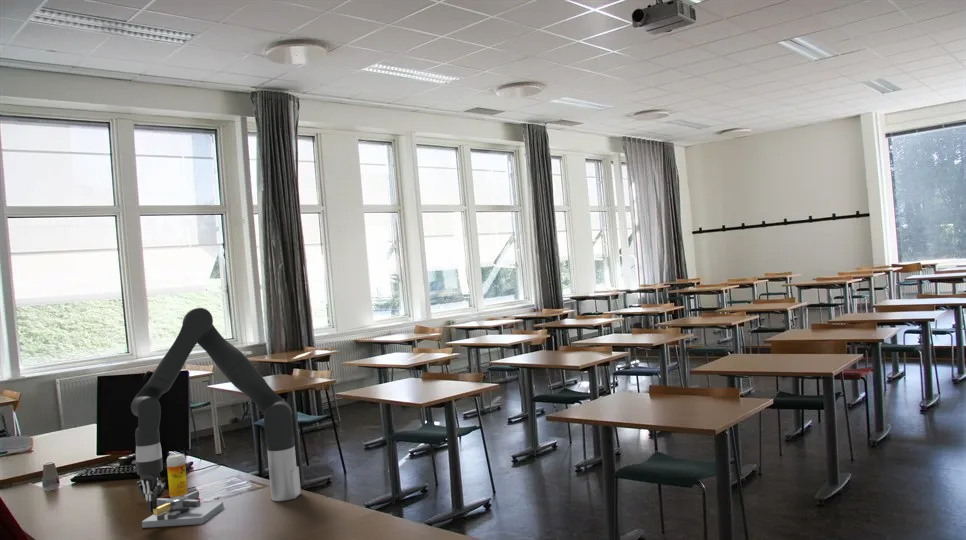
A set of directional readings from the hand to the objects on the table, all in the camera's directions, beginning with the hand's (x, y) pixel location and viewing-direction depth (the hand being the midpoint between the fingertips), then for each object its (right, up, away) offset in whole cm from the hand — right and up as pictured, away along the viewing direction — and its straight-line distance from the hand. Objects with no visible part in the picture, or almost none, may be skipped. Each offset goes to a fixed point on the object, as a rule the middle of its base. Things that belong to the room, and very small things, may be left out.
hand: (152, 511), depth 221 cm
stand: (+7, -4, +6) cm, 10 cm away
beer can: (-6, -6, +32) cm, 33 cm away
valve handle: (+5, -2, +6) cm, 8 cm away
